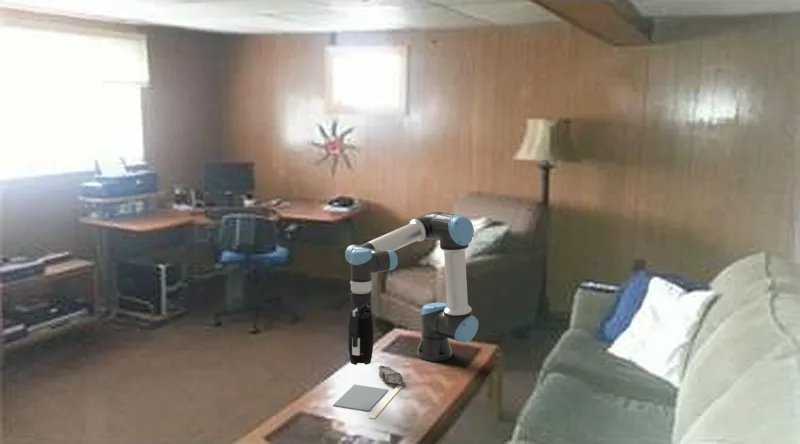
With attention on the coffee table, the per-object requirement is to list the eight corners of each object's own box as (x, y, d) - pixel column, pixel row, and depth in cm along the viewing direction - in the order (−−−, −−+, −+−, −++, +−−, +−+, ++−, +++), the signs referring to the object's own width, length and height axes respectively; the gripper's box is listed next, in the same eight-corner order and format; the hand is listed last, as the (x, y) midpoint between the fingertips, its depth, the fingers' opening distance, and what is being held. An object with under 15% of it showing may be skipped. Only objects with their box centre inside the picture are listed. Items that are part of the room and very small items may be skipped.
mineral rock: (405, 386, 273) (406, 375, 272) (386, 388, 271) (386, 377, 270) (396, 373, 287) (396, 362, 286) (377, 375, 285) (377, 364, 284)
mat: (354, 385, 274) (354, 384, 274) (388, 390, 270) (388, 389, 270) (333, 405, 255) (333, 404, 255) (368, 411, 251) (368, 410, 251)
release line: (397, 386, 274) (397, 385, 274) (402, 386, 273) (402, 386, 273) (369, 418, 246) (369, 417, 246) (374, 419, 245) (374, 418, 245)
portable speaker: (369, 367, 255) (369, 315, 251) (344, 364, 257) (344, 313, 254) (376, 359, 263) (376, 308, 260) (352, 356, 265) (352, 306, 262)
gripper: (362, 283, 267) (362, 340, 270) (339, 297, 247) (339, 359, 250) (380, 285, 264) (380, 343, 268) (359, 299, 244) (359, 361, 248)
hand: (360, 350), depth 259 cm, fingers closed on portable speaker, 8 cm apart
